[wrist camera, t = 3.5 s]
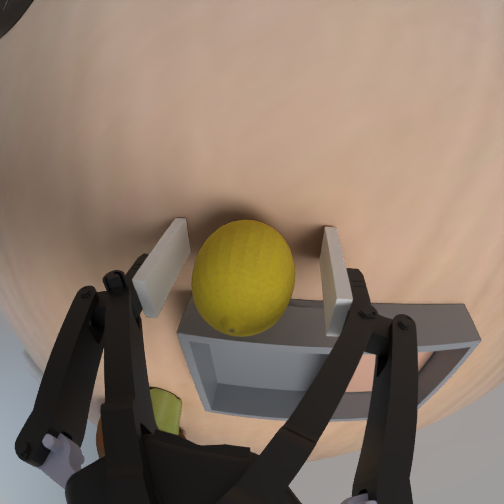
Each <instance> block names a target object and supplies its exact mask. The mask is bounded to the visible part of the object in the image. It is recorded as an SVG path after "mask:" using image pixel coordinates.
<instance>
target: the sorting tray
mask: <svg viewBox="0 0 504 504" xmlns="http://www.w3.org/2000/svg"><path fill="white" fill-rule="evenodd" d="M371 306H373V307H374V308H375V309H376V310H377V312H378V314H379V315H381V316H384V317H387V318H390V319H393V318H394V317H395V316H396V315H398V314H405V315H408V316H410V317H411V318H412V319H413V320H414V321H415V324H416V331H417V347H418V409H419V408H420V407H421V406H422V405H423V404H424V403H425V402H426V401H427V400H429V399H430V398H431V397H432V396H433V395H434V394H435V393H436V392H437V391H438V390H439V389H440V388H441V387H442V386H443V385H444V384H445V383H446V381H447V380H448V379H449V378H450V377H451V376H452V375H453V374H454V373H455V372H456V371H457V369H458V368H459V367H460V366H461V365H462V364H463V363H464V361H465V360H466V359H467V358H468V357H469V355H470V354H471V353H472V352H473V351H474V349H475V348H476V347H477V345H478V344H479V343H480V342H481V338H480V336H479V333H478V331H477V329H476V327H475V325H474V322H473V320H472V318H471V316H470V314H469V312H468V310H467V308H466V306H465V304H378V303H371ZM177 336H178V339H179V342H180V345H181V348H182V351H183V354H184V357H185V359H186V362H187V365H188V368H189V371H190V373H191V376H192V379H193V381H194V384H195V387H196V389H197V392H198V394H199V397H200V399H201V402H202V404H203V407H204V409H205V411H208V412H213V413H219V414H226V415H233V416H241V417H249V418H258V419H270V420H284V421H287V420H288V419H289V417H290V416H291V414H292V413H293V412H294V410H295V409H296V407H297V406H298V404H299V403H300V401H301V400H302V398H303V396H304V395H305V393H306V392H307V390H308V389H309V387H310V385H311V384H312V382H313V381H314V379H315V377H316V376H317V374H318V372H319V371H320V369H321V367H322V366H323V364H324V362H325V361H326V359H327V357H328V355H329V354H330V352H331V350H332V348H333V346H334V345H335V343H336V341H337V339H338V337H339V336H326V327H325V314H324V302H323V301H310V300H295V299H290V301H289V303H288V306H287V308H286V310H285V312H284V314H283V315H282V316H281V317H280V319H279V320H278V321H277V322H276V323H275V324H274V325H273V326H271V327H270V328H268V329H267V330H265V331H263V332H261V333H258V334H255V335H252V336H245V337H239V336H231V335H227V334H224V333H222V332H220V331H218V330H216V329H214V328H213V327H212V326H211V325H209V324H208V323H207V322H206V321H205V320H204V319H203V317H202V316H201V315H200V313H199V312H198V310H197V308H196V305H195V303H194V300H193V294H192V295H191V298H190V300H189V303H188V305H187V308H186V310H185V313H184V315H183V318H182V320H181V322H180V325H179V328H178V330H177ZM375 358H376V355H374V354H370V353H367V352H364V353H363V355H362V357H361V360H360V362H359V364H358V366H357V368H356V371H355V373H354V375H353V377H352V379H351V381H350V383H349V385H348V387H347V389H346V391H345V393H344V395H343V397H342V399H341V401H340V403H339V405H338V407H337V408H336V410H335V412H334V414H333V416H332V417H331V419H330V421H329V422H332V421H358V420H367V419H368V413H369V407H370V400H371V393H372V386H373V378H374V368H375ZM418 409H417V410H418Z"/></svg>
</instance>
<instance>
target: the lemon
mask: <svg viewBox="0 0 504 504" xmlns="http://www.w3.org/2000/svg"><path fill="white" fill-rule="evenodd" d="M294 283H295V264H294V260H293V257H292V253H291V250H290V248H289V246H288V244H287V243H286V241H285V239H284V238H283V237H282V235H281V234H279V233H278V232H277V231H276V230H275V229H274V228H272V227H270V226H269V225H267V224H265V223H262V222H259V221H255V220H238V221H233V222H230V223H228V224H226V225H224V226H221V227H220V228H218V229H217V230H216V231H215V232H214V233H213V234H211V235H210V236H209V237H208V238H207V240H206V241H205V243H204V244H203V246H202V247H201V249H200V251H199V253H198V255H197V257H196V261H195V265H194V269H193V274H192V294H193V300H194V303H195V305H196V308H197V310H198V312H199V313H200V315H201V316H202V317H203V319H204V320H205V321H206V322H207V323H208V324H209V325H211V326H212V327H213V328H214V329H216V330H218V331H220V332H222V333H224V334H227V335H231V336H239V337H245V336H252V335H255V334H258V333H261V332H263V331H265V330H267V329H268V328H270V327H271V326H273V325H274V324H275V323H276V322H277V321H278V320H279V319H280V317H281V316H282V315H283V314H284V312H285V310H286V308H287V306H288V303H289V301H290V298H291V296H292V293H293V289H294Z"/></svg>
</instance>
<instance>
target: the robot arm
mask: <svg viewBox="0 0 504 504" xmlns="http://www.w3.org/2000/svg"><path fill="white" fill-rule="evenodd" d="M31 2H32V0H0V37H1V36H2V35H4V34H5V33H6V32H7V31H8V30H9V29H10V28H11V27H12V26H13V25H14V24H15V22H16V21H17V20H18V19H19V18H20V16H21V15H22V14H23V13H24V11H25V10H26V9H27V7H28V6H29V4H30V3H31ZM190 252H191V251H190V244H189V237H188V230H187V223H186V218H175V220H174V221H173V222H172V224H171V225H170V226H169V228H168V229H167V230H166V232H165V233H164V234H163V236H162V237H161V238H160V240H159V241H158V243H157V244H156V245H155V247H154V248H153V250H152V251H151V252H150V254H143V255H141V256H140V257H139V258H138V259H137V260H136V261H135V263H134V265H132V267H131V269H130V270H129V271H128V272H127V274H126V275H125V274H124V272H123V271H120V270H114V271H111V272H109V273H107V274H106V275H105V276H104V277H103V283H104V285H105V288H106V290H107V291H103V292H97V291H96V289H95V287H93V286H85V287H83V288H81V289H80V290H79V291H78V292H77V294H76V296H75V298H74V300H73V302H72V304H71V307H70V309H69V311H68V313H67V315H66V318H65V320H64V322H63V325H62V327H61V329H60V332H59V334H58V337H57V339H56V342H55V344H54V347H53V349H52V352H51V355H50V358H49V360H48V363H47V366H46V369H45V372H44V375H43V378H42V381H41V384H40V387H39V391H38V394H37V398H36V401H35V405H34V409H33V411H32V413H31V414H30V416H29V418H28V419H27V421H26V423H25V425H24V427H23V428H22V430H21V432H20V433H19V435H18V437H17V439H16V442H15V450H16V454H17V455H18V457H19V458H20V459H21V460H23V461H25V462H26V463H28V464H30V465H32V466H34V467H37V468H39V469H41V470H42V471H43V472H44V473H45V474H47V475H48V476H49V477H50V478H51V479H53V480H54V481H55V482H56V483H58V484H59V485H60V486H61V487H63V488H64V489H65V496H66V501H67V504H302V503H301V502H300V501H299V499H298V498H297V497H296V496H295V494H294V493H293V492H292V490H291V489H290V488H289V486H288V485H289V484H290V483H291V481H292V480H293V479H294V477H295V476H296V474H297V473H298V472H299V470H300V469H301V467H302V466H303V464H304V463H305V461H306V460H307V458H308V457H309V455H310V454H311V452H312V450H313V449H314V447H315V445H316V443H317V441H318V440H319V438H320V436H321V435H322V433H323V431H324V430H325V428H326V426H327V424H328V423H329V421H330V419H331V417H332V416H333V414H334V412H335V410H336V408H337V407H338V405H339V403H340V401H341V399H342V397H343V395H344V393H345V391H346V389H347V387H348V385H349V383H350V381H351V379H352V377H353V375H354V373H355V371H356V368H357V366H358V364H359V362H360V360H361V357H362V355H363V353H364V352H367V353H370V354H374V355H376V358H375V368H374V378H373V386H372V393H371V400H370V407H369V413H368V419H367V425H366V430H365V435H364V440H363V445H362V449H361V454H360V458H359V462H358V466H357V470H356V474H355V478H354V483H353V489H352V497H350V498H347V499H346V500H344V501H343V502H342V503H341V504H413V500H412V492H411V486H410V479H409V477H410V472H411V466H412V460H413V452H414V444H415V435H416V424H417V409H418V347H417V331H416V324H415V321H414V320H413V319H412V318H411V317H410V316H408V315H405V314H398V315H396V316H395V317H394V318H393V319H390V318H387V317H384V316H381V315H379V314H378V312H377V310H376V309H375V308H374V307H373V306H371V302H370V298H369V294H368V291H367V287H366V283H365V280H364V276H363V274H362V273H361V272H360V270H359V269H352V268H346V265H345V261H344V256H343V252H342V248H341V244H340V240H339V236H338V233H337V229H336V227H325V228H324V235H323V241H322V248H321V254H320V260H319V263H320V272H321V281H322V291H323V302H324V314H325V327H326V336H339V337H338V339H337V341H336V343H335V345H334V346H333V348H332V350H331V352H330V354H329V355H328V357H327V359H326V361H325V362H324V364H323V366H322V367H321V369H320V371H319V372H318V374H317V376H316V377H315V379H314V381H313V382H312V384H311V385H310V387H309V389H308V390H307V392H306V393H305V395H304V396H303V398H302V400H301V401H300V403H299V404H298V406H297V407H296V409H295V410H294V412H293V413H292V414H291V416H290V417H289V419H288V420H287V422H286V423H285V424H284V426H282V427H281V428H280V429H279V430H278V432H277V433H276V434H275V436H274V437H273V438H272V440H271V441H270V442H269V444H268V445H267V446H266V448H265V449H264V450H263V451H262V453H261V454H260V455H257V454H255V453H252V452H250V448H249V447H240V446H233V445H226V444H224V445H203V446H201V445H197V444H195V443H193V442H191V441H189V440H186V439H184V438H182V437H181V436H179V435H176V434H172V433H168V432H165V431H161V430H159V429H158V426H157V424H156V421H155V417H154V412H153V406H152V400H151V395H150V388H149V382H148V375H147V368H146V360H145V352H144V342H143V332H142V320H141V317H140V313H141V311H142V309H143V312H144V315H145V316H146V317H151V318H157V317H158V315H159V313H160V311H161V309H162V307H163V305H164V303H165V301H166V299H167V297H168V295H169V293H170V291H171V289H172V287H173V285H174V283H175V281H176V279H177V277H178V275H179V273H180V271H181V269H182V267H183V265H184V263H185V262H186V260H187V258H188V256H189V254H190ZM103 349H104V381H105V403H104V404H102V405H101V411H100V412H101V424H102V434H103V443H104V451H105V456H103V457H102V458H100V459H98V460H97V461H95V462H93V463H92V464H90V465H88V466H86V467H85V468H83V469H81V464H83V462H84V456H83V455H82V452H81V449H80V447H81V445H82V442H83V439H84V434H85V430H86V424H87V419H88V413H89V408H90V403H91V398H92V393H93V389H94V384H95V380H96V376H97V371H98V367H99V364H100V360H101V356H102V352H103Z"/></svg>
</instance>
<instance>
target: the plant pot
mask: <svg viewBox="0 0 504 504" xmlns="http://www.w3.org/2000/svg"><path fill="white" fill-rule="evenodd" d="M150 395H151V400H152V406H153V412H154V417H155V421H156V424H157V426H158V429H159V430H161V431H165V432H168V433H172V434H176V435H178V434H179V424H180V415H181V408H182V401H181V400H180V399H177V398H176V397H175V395H173V394H172V393H170V392H167V391H164V390H162V389H157V388H154V389H150Z"/></svg>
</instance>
